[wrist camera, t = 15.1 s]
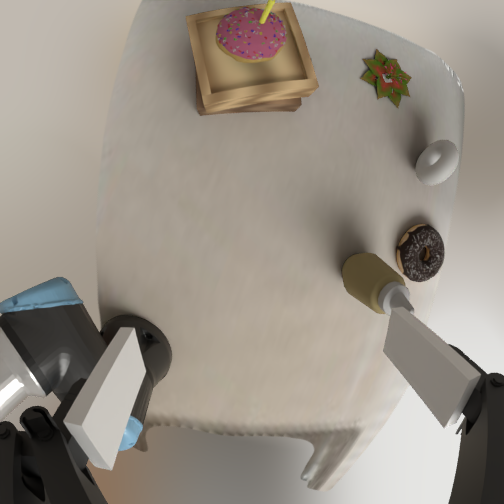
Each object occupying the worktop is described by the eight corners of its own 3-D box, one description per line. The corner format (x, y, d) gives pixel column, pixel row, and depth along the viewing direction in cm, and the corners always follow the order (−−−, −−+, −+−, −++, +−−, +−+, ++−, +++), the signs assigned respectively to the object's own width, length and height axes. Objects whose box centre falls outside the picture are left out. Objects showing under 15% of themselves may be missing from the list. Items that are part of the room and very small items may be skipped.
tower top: (206, 113, 35) (203, 104, 31) (189, 32, 32) (185, 16, 27) (308, 96, 36) (318, 86, 31) (284, 18, 32) (290, 2, 27)
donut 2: (414, 211, 46) (426, 214, 42) (444, 245, 49) (456, 250, 45) (384, 259, 48) (395, 265, 44) (417, 288, 50) (427, 295, 47)
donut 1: (425, 137, 42) (459, 133, 33) (435, 149, 43) (469, 148, 34) (403, 175, 44) (437, 177, 34) (414, 187, 45) (449, 191, 35)
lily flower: (371, 41, 37) (381, 32, 33) (417, 78, 40) (430, 73, 35) (348, 80, 40) (359, 72, 35) (399, 120, 42) (413, 116, 37)
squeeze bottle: (372, 288, 49) (426, 334, 32) (333, 291, 49) (379, 344, 31) (377, 246, 47) (439, 279, 30) (337, 247, 47) (390, 284, 29)
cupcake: (258, 17, 28) (269, -32, 17) (293, 59, 31) (318, 16, 19) (205, 42, 29) (197, -7, 17) (238, 85, 31) (243, 45, 20)
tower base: (200, 116, 40) (196, 108, 35) (198, 39, 36) (195, 26, 31) (294, 112, 41) (301, 104, 36) (286, 37, 37) (292, 23, 32)
